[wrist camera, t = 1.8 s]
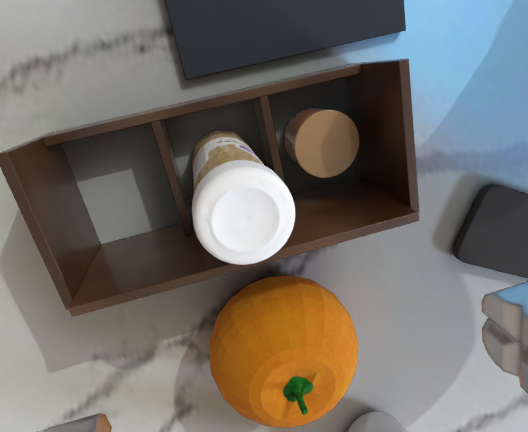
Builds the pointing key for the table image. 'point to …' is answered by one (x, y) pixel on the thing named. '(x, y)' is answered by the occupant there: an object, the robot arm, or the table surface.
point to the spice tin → (322, 141)
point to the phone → (496, 232)
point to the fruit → (283, 351)
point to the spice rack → (183, 235)
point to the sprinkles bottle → (238, 201)
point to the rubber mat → (272, 29)
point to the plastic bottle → (376, 423)
